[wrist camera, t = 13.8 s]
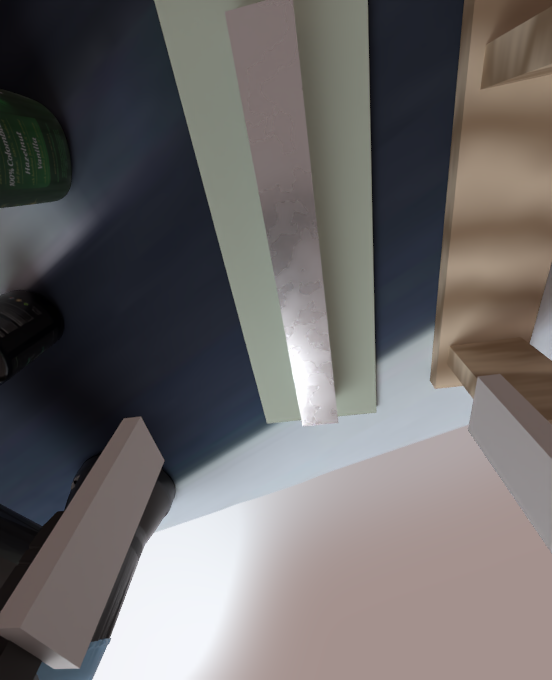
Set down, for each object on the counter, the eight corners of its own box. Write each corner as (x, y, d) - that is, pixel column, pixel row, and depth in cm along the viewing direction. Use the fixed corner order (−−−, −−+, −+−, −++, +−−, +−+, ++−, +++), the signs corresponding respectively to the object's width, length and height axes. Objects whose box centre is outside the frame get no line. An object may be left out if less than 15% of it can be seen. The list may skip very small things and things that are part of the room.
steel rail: (333, 398, 38) (338, 422, 34) (301, 402, 38) (302, 426, 35) (291, 20, 21) (292, -8, 17) (235, 35, 21) (224, 11, 18)
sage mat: (374, 408, 39) (376, 412, 38) (267, 419, 41) (267, 423, 40) (363, -60, 19) (366, -68, 19) (157, -1, 21) (152, -6, 20)
